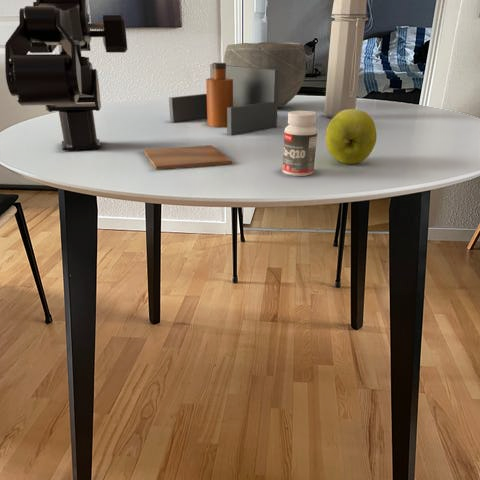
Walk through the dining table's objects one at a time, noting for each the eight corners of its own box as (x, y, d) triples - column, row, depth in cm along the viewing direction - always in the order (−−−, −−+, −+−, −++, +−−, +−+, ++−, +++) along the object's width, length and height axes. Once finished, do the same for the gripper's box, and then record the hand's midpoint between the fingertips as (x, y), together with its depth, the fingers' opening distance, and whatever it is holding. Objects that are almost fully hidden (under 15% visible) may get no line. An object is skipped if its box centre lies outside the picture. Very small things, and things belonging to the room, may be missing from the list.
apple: (323, 169, 76) (328, 113, 72) (323, 155, 84) (327, 104, 80) (375, 171, 75) (383, 114, 71) (370, 157, 83) (377, 105, 79)
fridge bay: (231, 135, 99) (231, 73, 93) (170, 121, 112) (166, 66, 106) (276, 127, 107) (279, 69, 101) (215, 115, 119) (213, 64, 114)
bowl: (296, 101, 140) (300, 40, 133) (310, 113, 122) (315, 43, 114) (222, 101, 139) (221, 40, 131) (225, 114, 121) (224, 43, 113)
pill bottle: (276, 173, 74) (278, 113, 70) (291, 166, 77) (295, 109, 73) (304, 178, 72) (309, 116, 67) (319, 171, 75) (324, 112, 71)
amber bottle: (236, 126, 107) (236, 63, 101) (211, 127, 106) (209, 64, 100) (228, 121, 112) (228, 61, 106) (204, 123, 110) (202, 62, 104)
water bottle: (317, 115, 120) (326, -9, 107) (345, 113, 122) (358, -8, 110) (336, 121, 113) (349, -11, 100) (366, 119, 115) (382, -11, 102)
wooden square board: (231, 163, 79) (231, 160, 79) (156, 169, 76) (155, 166, 75) (211, 148, 89) (211, 145, 88) (144, 152, 85) (143, 149, 85)
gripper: (119, -23, 86) (123, -8, 100) (6, -25, 84) (26, -9, 98) (126, 50, 91) (129, 54, 105) (19, 50, 88) (36, 55, 102)
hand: (81, 38), depth 102 cm, fingers open, 9 cm apart
